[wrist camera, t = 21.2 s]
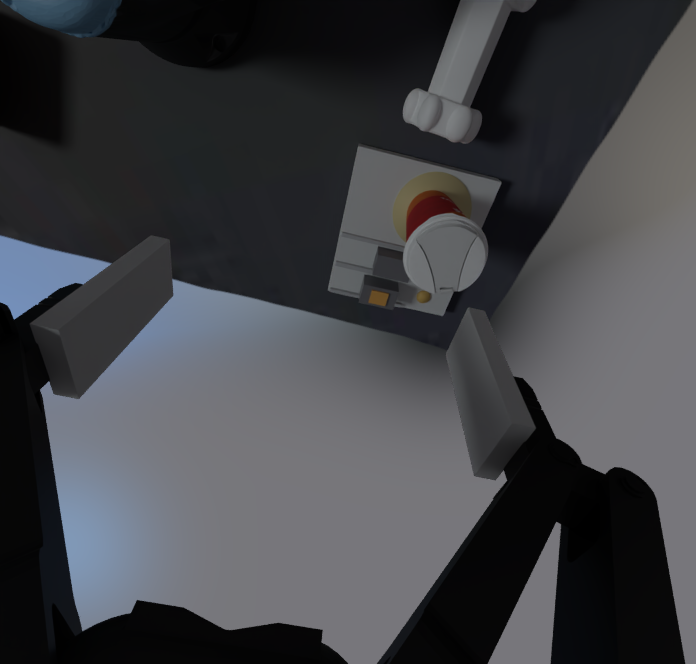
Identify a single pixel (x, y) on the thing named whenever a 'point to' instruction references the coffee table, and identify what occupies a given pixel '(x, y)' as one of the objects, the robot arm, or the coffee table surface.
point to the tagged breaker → (378, 292)
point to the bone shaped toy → (461, 70)
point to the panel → (398, 220)
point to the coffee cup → (442, 245)
